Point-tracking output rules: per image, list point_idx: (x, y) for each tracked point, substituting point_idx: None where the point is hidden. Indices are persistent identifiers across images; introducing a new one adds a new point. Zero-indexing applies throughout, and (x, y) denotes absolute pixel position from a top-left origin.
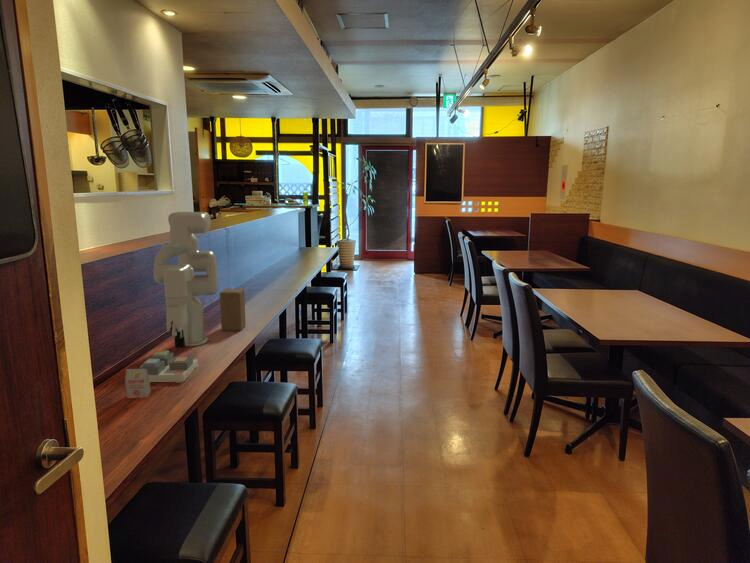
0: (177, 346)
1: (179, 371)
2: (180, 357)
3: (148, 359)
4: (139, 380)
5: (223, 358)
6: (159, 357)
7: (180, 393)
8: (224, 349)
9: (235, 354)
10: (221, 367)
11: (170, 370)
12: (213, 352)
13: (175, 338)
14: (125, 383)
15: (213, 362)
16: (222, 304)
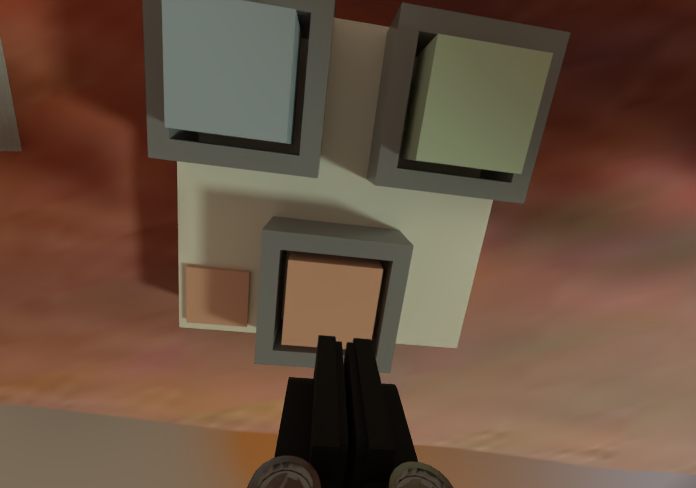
0: (315, 367)
1: (224, 295)
2: (375, 293)
3: (276, 13)
4: None
5: (531, 420)
6: (416, 103)
7: (43, 318)
8: (675, 401)
9: (573, 461)
10: None
11: (264, 224)
12: (649, 357)
13: (309, 452)
14: None
15: (484, 385)
16: None
